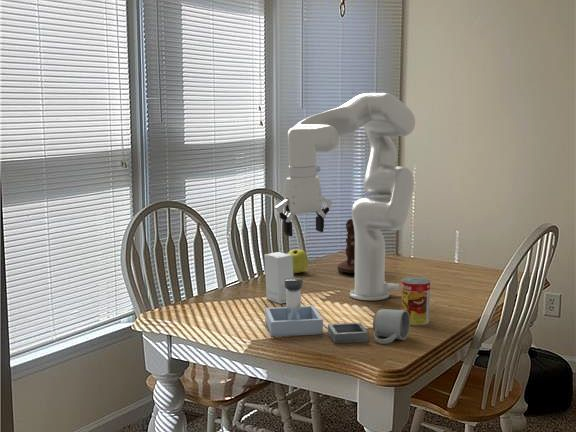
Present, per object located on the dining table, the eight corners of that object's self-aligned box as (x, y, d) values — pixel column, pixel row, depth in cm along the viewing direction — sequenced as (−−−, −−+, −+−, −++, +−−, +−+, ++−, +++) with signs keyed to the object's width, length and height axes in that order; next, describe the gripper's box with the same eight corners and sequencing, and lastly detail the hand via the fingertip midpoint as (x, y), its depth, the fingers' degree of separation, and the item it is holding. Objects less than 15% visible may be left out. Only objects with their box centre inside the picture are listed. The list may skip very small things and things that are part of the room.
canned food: (399, 317, 217) (400, 276, 216) (427, 317, 217) (428, 276, 215) (403, 325, 210) (403, 283, 208) (431, 325, 209) (432, 283, 207)
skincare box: (295, 301, 235) (294, 255, 233) (278, 304, 232) (278, 257, 229) (280, 296, 242) (279, 250, 240) (264, 298, 239) (263, 252, 236)
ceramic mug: (382, 330, 205) (382, 303, 204) (410, 335, 201) (410, 307, 200) (366, 342, 196) (366, 314, 195) (395, 347, 192) (395, 318, 191)
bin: (313, 319, 216) (313, 305, 216) (322, 333, 203) (322, 319, 202) (265, 321, 214) (265, 307, 214) (271, 336, 201) (271, 322, 200)
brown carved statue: (356, 266, 284) (356, 213, 281) (386, 272, 273) (387, 218, 270) (329, 272, 274) (329, 218, 271) (359, 279, 263) (359, 222, 260)
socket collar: (360, 331, 205) (360, 322, 204) (368, 341, 196) (368, 332, 195) (327, 333, 203) (327, 324, 203) (334, 343, 195) (334, 334, 194)
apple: (287, 270, 278) (287, 243, 276) (308, 270, 277) (308, 244, 275) (284, 275, 270) (284, 247, 269) (306, 275, 269) (306, 248, 268)
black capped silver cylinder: (295, 321, 212) (294, 276, 210) (306, 325, 208) (306, 279, 206) (281, 324, 209) (280, 279, 207) (292, 329, 205) (292, 282, 203)
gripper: (323, 168, 214) (325, 227, 217) (268, 173, 206) (270, 234, 209) (336, 171, 207) (338, 232, 210) (280, 176, 200) (282, 239, 203)
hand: (304, 233), depth 210 cm, fingers open, 9 cm apart
